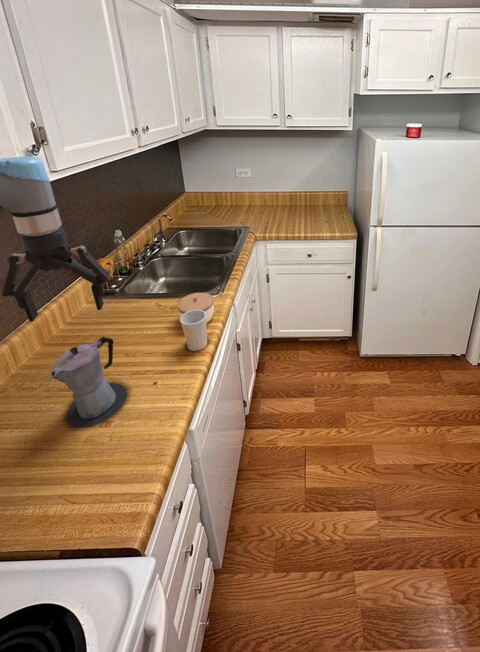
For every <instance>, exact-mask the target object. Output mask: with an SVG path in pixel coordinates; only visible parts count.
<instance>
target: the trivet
mask: <svg viewBox="0 0 480 652" xmlns="http://www.w3.org/2000/svg"><path fill="white" fill-rule="evenodd" d="M108 383H109V385H110V387H111V388H112V389H113V391H114V393H115V394H116V398H115V401H114V403H113V405H112V406H111V407H110V408H109V409H108V410H107V411H106V412H104V413H103V414H101V415H99V416H96V417H94V418H82V417H81V416H80V415H79V413H78V411H77V407H76V402H75V400H74V401H73V402H72V403H71V404H70V406H69V408H68V410H67V412H66V420H67V423H68V424H69V425H70V426H72V427H75V428H88V427H89V428H90V427H93V426H96V425H99V424H101V423H103V422H105V421H107V420H108V419H110V418H112V417H113V416H114V415H115V414H117V412H119V411H120V410H121V408H122V407H123V406H124V404H125V403H126V400H127V399H128V391H127V389H126V387H125V386H124V385H122V384H121V383H116V382H108Z"/></svg>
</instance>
